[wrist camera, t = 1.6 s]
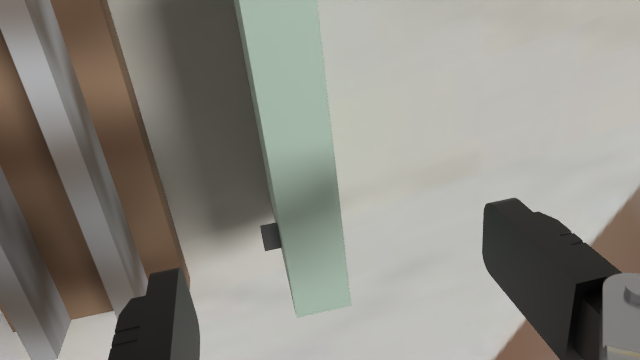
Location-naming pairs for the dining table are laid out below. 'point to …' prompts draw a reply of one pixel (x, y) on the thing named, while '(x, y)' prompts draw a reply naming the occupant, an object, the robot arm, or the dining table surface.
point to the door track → (73, 174)
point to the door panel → (296, 148)
